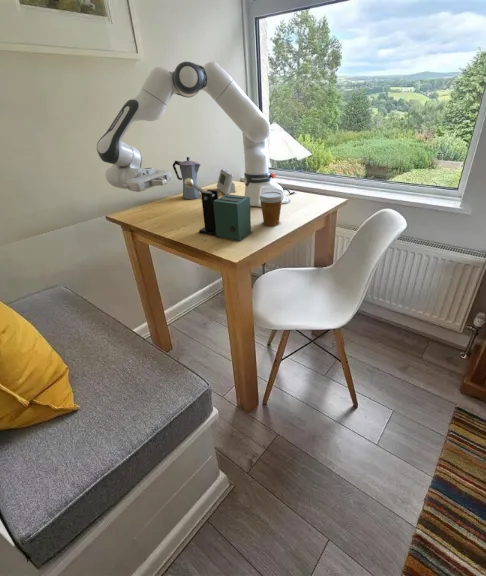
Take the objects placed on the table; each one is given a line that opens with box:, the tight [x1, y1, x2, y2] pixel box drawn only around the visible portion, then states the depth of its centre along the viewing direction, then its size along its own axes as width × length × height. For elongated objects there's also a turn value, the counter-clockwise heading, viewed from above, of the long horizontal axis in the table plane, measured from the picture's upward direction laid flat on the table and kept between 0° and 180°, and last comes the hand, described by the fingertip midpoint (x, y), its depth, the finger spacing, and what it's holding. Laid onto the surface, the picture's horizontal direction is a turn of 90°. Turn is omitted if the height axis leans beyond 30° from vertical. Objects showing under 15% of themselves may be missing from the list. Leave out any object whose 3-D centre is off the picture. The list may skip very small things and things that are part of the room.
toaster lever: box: [184, 178, 215, 200], centre depth 122 cm, size 13×3×3 cm, turn 63°
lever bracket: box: [199, 188, 220, 237], centre depth 125 cm, size 8×8×16 cm
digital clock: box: [216, 168, 236, 195], centre depth 176 cm, size 16×9×11 cm, turn 11°
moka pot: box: [172, 156, 202, 200], centre depth 165 cm, size 10×15×20 cm, turn 78°
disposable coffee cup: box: [259, 192, 283, 227], centre depth 132 cm, size 10×10×12 cm
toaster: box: [213, 193, 252, 242], centre depth 121 cm, size 10×10×14 cm
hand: (164, 182), depth 128 cm, fingers closed
